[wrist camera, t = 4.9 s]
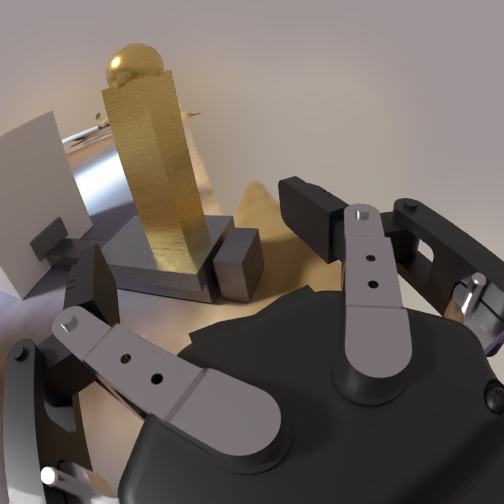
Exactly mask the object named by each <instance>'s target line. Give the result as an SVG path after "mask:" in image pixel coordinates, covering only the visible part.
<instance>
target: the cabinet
mask: <svg viewBox="0 0 504 504" xmlns="http://www.w3.org/2000/svg"><path fill="white" fill-rule="evenodd" d="M92 227H93V224H92V221H91V219H90V217H89V214H88V212H87V210H86V207H85V205H84V202H83V200H82V197H81V195H80V192H79V189H78V187H77V184H76V182H75V179H74V176H73V173H72V171H71V168H70V165H69V162H68V159H67V156H66V153H65V150H64V147H63V144H62V141H61V138H60V135H59V132H58V128H57V125H56V121H55V118H54V114H53V111H50V112H48V113H46V114H43V115H41V116H39V117H37V118H35V119H33V120H31V121H29V122H27V123H25V124H23V125H21V126H19V127H17V128H15V129H13V130H12V131H10V132H8V133H6V134H4V135H2V136H1V137H0V290H1V291H3V292H5V293H8V294H10V295H12V296H14V297H17V298H19V299H21V300H23V299H24V297H25V296H26V295H27V294H28V293H29V292H30V291H31V289H32V288H33V287H34V286H35V285H36V284H37V283H38V282H39V280H40V279H41V278H42V277H43V276H44V275H45V274H46V273H47V272H48V271H49V270H50V269H51V266H50V264H49V262H48V260H47V259H46V256H47V253H48V252H49V251H50V250H51V249H52V248H53V247H54V246H55V245H56V244H57V243H58V242H59V241H60V240H61V239H62V238H71V239H80V238H81V237H82V236H83V235H84V234H85V233H86V232H87V231H88V230H89V229H90V228H92Z"/></svg>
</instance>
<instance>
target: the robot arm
mask: <svg viewBox="0 0 504 504" xmlns="http://www.w3.org/2000/svg"><path fill="white" fill-rule="evenodd" d="M278 189H279V199H280V209H281V215H282V219H283V221H284V223H285V224H286V225H287V226H288V227H289V228H290V229H291V230H292V231H293V232H294V233H295V234H296V235H298V236H299V237H300V238H301V239H302V240H303V241H304V242H305V243H306V244H307V245H308V246H309V247H310V248H312V249H313V250H314V251H315V252H316V253H317V254H318V255H319V256H320V257H321V258H322V259H323V260H324V261H325V262H326V263H327V264H330V263H332V262H334V261H336V260H340V261H341V262H342V265H341V291H319V292H314V291H313V290H312V289H311V288H310V287H309V285H306V286H304V287H302V288H299V289H297V290H295V291H293V292H290V293H288V294H286V295H283V296H281V297H279V298H278V299H277V300H275V301H274V302H272V303H271V304H269V305H268V306H267V307H265V308H264V309H262V310H261V311H259V312H258V313H256V314H254V315H251V316H247V317H242V318H236V319H231V320H226V321H220V322H217V323H215V324H212V325H210V326H207V327H204V328H202V329H199V330H197V331H194V332H191V333H189V336H190V339H191V341H192V343H191V344H190V345H188V346H187V347H185V348H184V349H183V350H182V351H181V352H180V353H179V354H178V355H177V356H175V355H173V354H172V353H170V352H168V351H166V350H164V349H162V348H160V347H159V346H157V345H155V344H153V343H151V342H150V341H148V340H146V339H144V338H142V337H141V336H139V335H137V334H135V333H134V332H132V331H130V330H129V329H127V328H125V327H124V326H122V325H120V317H119V308H118V297H117V286H116V282H115V279H114V276H113V274H112V272H111V270H110V268H109V266H108V264H107V262H106V260H105V258H104V255H103V253H102V251H101V249H100V247H99V245H98V244H97V243H96V244H93V245H91V246H88V247H86V248H83V249H81V250H80V254H79V262H78V264H75V265H73V266H72V268H71V270H70V272H69V273H68V277H67V284H66V291H65V299H64V308H63V311H62V312H61V313H60V314H59V315H58V316H57V317H56V319H55V320H54V322H53V325H52V332H53V334H52V335H51V336H50V337H49V338H47V339H46V340H45V341H43V342H42V343H40V344H39V345H37V346H36V345H35V343H34V342H33V341H32V340H31V339H23V340H21V341H19V342H17V343H16V344H15V345H14V346H13V347H12V348H11V350H10V351H9V353H8V356H7V360H6V369H5V380H4V395H3V448H4V463H5V473H6V482H7V489H8V496H9V502H10V504H504V385H503V384H502V383H501V382H500V381H499V380H498V379H497V377H496V375H495V374H494V372H493V370H492V369H491V367H490V365H489V362H488V360H487V358H486V357H491V356H494V355H495V354H496V353H497V352H498V351H499V349H500V348H501V346H502V345H503V343H504V262H503V261H502V260H501V259H500V258H498V257H497V256H496V255H495V254H493V253H492V252H491V251H489V250H488V249H487V248H486V247H484V246H483V245H482V244H480V243H479V242H477V241H476V240H475V239H474V238H472V237H471V236H469V235H468V234H467V233H465V232H464V231H462V230H461V229H460V228H458V227H457V226H455V225H454V224H453V223H451V222H450V221H448V220H447V219H445V218H444V217H442V216H441V215H439V214H438V213H436V212H435V211H433V210H432V209H430V208H429V207H427V206H425V205H424V204H422V203H421V202H419V201H417V200H413V199H408V198H402V199H398V200H396V201H395V202H394V209H393V212H386V213H379V211H378V210H377V209H376V208H374V207H373V206H370V205H367V204H353V205H348V204H347V203H345V202H344V201H342V200H341V199H339V198H337V197H336V196H334V195H332V194H331V193H330V192H327V191H326V190H325V189H323V188H321V187H320V186H317V185H313V184H310V183H306V182H304V181H303V180H302V179H300V178H298V177H296V176H294V177H290V178H287V179H283V180H280V181H279V184H278ZM420 239H421V240H422V241H423V242H425V243H426V244H427V245H429V246H430V248H431V249H432V251H433V254H434V259H433V262H431V261H430V260H429V259H427V258H426V257H425V256H424V255H423V254H421V253H420V252H419V251H418V245H419V241H420ZM397 273H398V274H399V275H400V276H401V277H402V278H403V279H405V280H406V281H407V282H408V283H409V284H410V285H411V286H412V287H413V288H414V289H415V290H416V291H417V292H418V293H419V294H420V295H421V296H423V298H424V299H425V300H426V301H427V302H429V303H430V304H431V305H432V306H433V307H434V308H435V309H436V310H437V311H438V312H439V313H440V314H441V315H442V316H443V317H440V316H436V315H432V314H428V313H425V312H421V311H417V310H413V309H408V308H405V307H403V304H402V298H401V292H400V286H399V280H398V274H397ZM94 381H95V382H96V383H97V384H98V385H99V386H100V387H101V388H103V389H104V390H105V391H106V392H107V393H109V394H110V395H111V396H112V397H114V398H115V399H116V400H117V401H119V402H120V403H121V404H122V405H124V406H125V407H126V408H127V409H129V410H130V411H131V412H132V413H133V414H135V415H136V416H137V417H138V418H140V419H141V420H142V421H143V422H144V423H143V426H142V428H141V430H140V433H139V435H138V438H137V440H136V443H135V445H134V447H133V450H132V452H131V455H130V457H129V460H128V462H127V465H126V467H125V470H124V472H123V475H122V477H121V480H120V483H119V487H118V498H117V497H116V496H115V495H114V494H113V492H112V491H111V489H110V486H109V484H108V483H107V481H106V480H105V479H104V478H103V477H101V476H100V475H98V474H96V473H94V472H93V470H92V466H91V462H90V457H89V453H88V448H87V443H86V438H85V433H84V428H83V422H82V416H81V410H80V403H79V395H78V392H79V391H81V390H82V389H84V388H85V387H87V386H88V385H90V384H91V383H93V382H94Z"/></svg>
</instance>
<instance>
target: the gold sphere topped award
mask: <svg viewBox="0 0 504 504" xmlns="http://www.w3.org/2000/svg"><path fill="white" fill-rule="evenodd" d="M163 68H164V66H163V60H162V58H161V56H160V54H159V53H158V52H157V51H156V50H155V49H154V48H152V47H151V46H148V45H145V44H131V45H127V46H125V47H123V48H121V49H120V50H119V51H117V52H116V53H115V54H114V55H113V56H112V58H111V59H110V61H109V63H108V65H107V69H106V80H107V83H108V85H109V87H110V88H108V89H105V90H103V91H102V96H103V100H104V104H105V108H106V111H107V115H108V119H109V123H110V126H111V130H112V133H113V137H114V140H115V144H116V147H117V151H118V154H119V157H120V160H121V164H122V167H123V170H124V173H125V176H126V179H127V182H128V185H129V188H130V191H131V194H132V197H133V200H134V203H135V206H136V209H137V212H138V214H139V215H134V216H133V217H132V218H131V219H130V220H129V221H128V222H127V223H126V224H125V225H124V226H123V227H122V228H121V229H120V230H119V231H118V232H117V233H116V234H115V235H114V236H113V237H112V238H111V239H110V240H109V241H108V242H107V244H106V245H105V246H104V247H103V248H102V249H101V251H102V253H103V255H104V258H105V260H106V262H107V264H108V266H109V268H110V270H111V272H112V274H113V276H114V279H115V282H116V286H117V287H118V288H123V289H128V290H134V291H140V292H145V293H151V294H157V295H163V296H169V297H176V298H182V299H188V300H195V301H202V302H209V303H212V302H213V300H214V298H215V296H216V294H217V291H216V288H215V285H214V281H213V278H212V273H213V271H214V269H215V268H214V264H213V260H214V258H215V256H216V255H217V253H218V251H219V250H220V248H221V246H222V245H223V243H224V241H225V240H226V238H227V236H228V235H229V233H230V231H231V230H232V228H235V225H234V220H233V216H210V215H204V213H203V209H202V205H201V201H200V197H199V193H198V188H197V184H196V180H195V176H194V172H193V168H192V163H191V159H190V155H189V150H188V146H187V142H186V137H185V133H184V128H183V124H182V119H181V115H180V110H179V105H178V101H177V96H176V91H175V86H174V81H173V77H172V71H171V70H169V71H165V72H163V70H164V69H163Z"/></svg>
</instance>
